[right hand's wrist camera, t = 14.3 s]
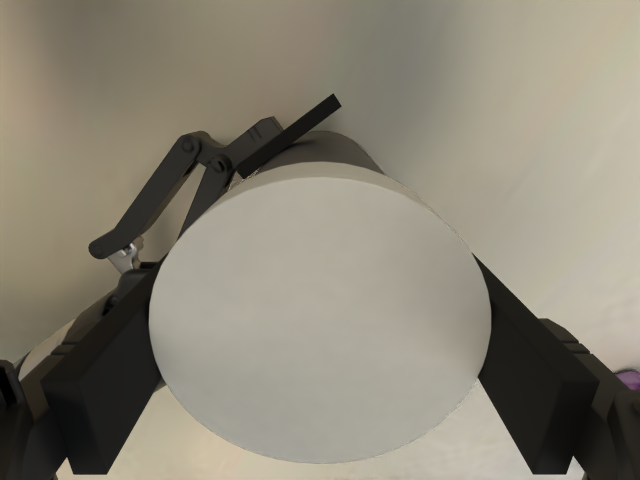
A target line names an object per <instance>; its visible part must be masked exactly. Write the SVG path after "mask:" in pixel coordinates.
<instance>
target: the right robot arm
mask: <svg viewBox="0 0 640 480" xmlns="http://www.w3.org/2000/svg"><path fill="white" fill-rule="evenodd" d="M168 253H169V252H168ZM168 253H167V254H166V255H165V256H164V257H163V258H162V259H161V260H160V261H159V262H158V263H157V264H156V265H155V266H154V267H153V268H152V269H151V270H150V271H149V272H148V273H147V274H146V275H145V276H144V277H143V278H142V279H141V280H140V281H139V282H138V283H137V284H136V285H135V286H134V287H133V288H132V289H131V290H130V291H129V292H128V293H127V294H126V295H125V296H124V297H123V298H122V299H121V300H120V301H119V302H118V303H117V304H116V305H115V306H114V307H113V308H112V309H111V310H110V311H109V312H108V313H107V314H106V315H105V316H104V317H103V318H102V319H101V320H91V321H90V322H88V323H86V324H84V325H83V326H81V327H79V328H77V329H76V330H74V331H73V332H72V333H71V334H70V335H69V336H68V337H67V338H66V339H65V340H63V341H62V342H61V345H58V346H57V347H56V348H55V349H54V350H53V351H52V352H51V354H50V355H47V356H46V357H45V358H44V359H43V360H42V361H41V362H40V363H39V364H38V365H37V366H36V367H35V368H33V369H32V370H31V371H30V372H29V373H28V374H27V375H26V376H25V377H24V378H23V379H22V380H21V381H19V378H18V376H17V373H16V371H15V368H14V366H13V364H12V363H10V362H9V361H7V360H0V480H58V478H57V475H56V472H57V470H58V469H59V467H60V466H61V464H62V463H63V462H64V460H65V459H66V457H67V458H68V460H69V463H70V466H71V469H72V471H73V474H74V475H107V473H108V471H109V470H110V468H111V466H112V464H113V463H114V461H115V459H116V457H117V456H118V454H119V452H120V450H121V449H122V447H123V445H124V443H125V442H126V440H127V438H128V436H129V435H130V433H131V431H132V429H133V427H134V426H135V424H136V422H137V420H138V419H139V417H140V415H141V413H142V412H143V410H144V408H145V406H146V405H147V403H148V401H149V399H150V398H151V396H152V394H153V392H154V391H155V389H156V387H157V385H158V384H159V382H160V380H161V378H162V375H161V373H160V370H159V368H158V366H157V363H156V361H155V357H154V354H153V349H152V345H151V340H150V333H149V305H150V300H151V295H152V290H153V286H154V283H155V280H156V278H157V275H158V273H159V270H160V267H161V265H162V263H163V262H164V260H165V258H166V257H167V255H168ZM471 253H472V252H471ZM472 255H473V256H474V258H475V260H476V262H477V264H478V266H479V268H480V270H481V272H482V275H483V278H484V281H485V284H486V286H487V289H488V294H489V300H490V306H491V334H490V339H489V345H488V349H487V354H486V357H485V360H484V364H483V366H482V369H481V371H480V373H479V375H478V379H479V381H480V382H481V384H482V386H483V388H484V389H485V391H486V393H487V395H488V396H489V398H490V400H491V402H492V403H493V405H494V407H495V409H496V410H497V412H498V414H499V416H500V417H501V419H502V421H503V423H504V424H505V426H506V428H507V430H508V431H509V433H510V435H511V437H512V438H513V440H514V442H515V444H516V445H517V447H518V449H519V451H520V452H521V454H522V456H523V458H524V459H525V461H526V463H527V465H528V466H529V468H530V470H531V472H532V473H533V474H566V473H567V471H568V468H569V465H570V462H571V460H572V457H573V456H574V457H575V459H576V460H577V461H578V463H579V464H580V466H581V467H582V468H583V470H584V471H585V473H584V475H583V478H582V480H640V391H637V390H631V389H630V388H629V387H628V386H627V385H626V384H624V383H623V382H622V381H621V380H620V379H619V378H618V377H617V376H616V375H615V374H614V373H613V372H612V371H610V370H609V369H608V368H607V367H606V366H605V365H604V364H603V363H602V362H601V361H600V360H599V359H598V358H596V357H595V356H594V355H593V354H590V351H589V350H588V349H587V348H586V347H585V346H583V345H582V344H579V341H578V340H577V339H576V338H575V337H574V336H573V335H572V334H571V333H569V332H568V331H567V330H566V329H565V328H563V327H561V326H560V325H558V324H556V323H554V322H553V321H551V320H549V319H538V318H537V317H536V316H535V315H534V314H533V313H532V312H531V311H530V310H529V309H528V308H527V307H526V306H525V305H524V304H523V303H522V302H521V301H520V300H519V299H518V298H517V297H516V296H515V295H514V294H513V293H512V292H511V291H510V290H509V289H508V288H507V287H506V286H505V285H504V284H503V283H502V282H501V281H500V280H499V279H498V278H497V277H496V276H495V275H494V274H493V273H492V272H491V271H490V270H489V269H488V268H487V267H486V266H485V265H484V264H483V263H482V262H481V261H480V260H479V259H478V258H477V257H476V256H475V255H474V254H473V253H472Z"/></svg>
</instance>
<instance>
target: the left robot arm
mask: <svg viewBox="0 0 640 480" xmlns="http://www.w3.org/2000/svg"><path fill="white" fill-rule="evenodd" d="M340 107H341V104H340V103H339V101H338V100H337V98H336V97H335V95H334V93H333V94H331V95H330V96H329V97H328V98H326V99H325V100H324V101H322V102H321V103H320V104H318V105H317V106H316V107H314V108H313V109H312V110H310V111H309V112H308V113H306V114H305V115H304V116H302V117H301V118H300V119H299V120H297V121H296V122H295V123H293V124H292V125H291V126H289V127H288V128H287V129H285V130H283V128H282V127H281V125H280V124H279V123H278V121H277V120H276V118H275V117H274V116H273V117H269V118H265V119H262V120H260V121H259V122H258V123H256V124H255V125H254V126H253V127H251V128H250V129H249V130H247V131H246V132H245V133H243V134H242V135H241V136H240V137H238V138H237V139H236V140H235V141H233V142H232V143H231V144H229V145H222V144H220V143H218V142H216V141H215V140H213V139H212V138H211V137H210V136H209V134H208V133H206V132H204V131H198V132H193V133H189V134H186V135H182V136H181V137H180V138H179V139H178V140H177V141H176V143H175V144H174V146H173V147H172V148H171V150H170V151H169V153H168V154H167V155H166V157H165V158H164V160H163V161H162V162H161V164H160V165H159V167H158V168H157V169H156V171H155V172H154V174H153V175H152V176H151V178H150V179H149V181H148V182H147V183H146V185H145V186H144V188H143V189H142V190H141V192H140V193H139V195H138V196H137V197H136V199H135V200H134V202H133V203H132V204H131V206H130V207H129V209H128V210H127V212H126V213H125V214H124V216H123V217H122V219H121V220H120V221H119V223H118V224H117V226H116V227H115V228H114V229H112V230H111V231H109V232H107V233H106V234H104V235H102V236H101V237H99V238H98V239H96V240H94V241H93V242H91V243H90V244H89V247H88V248H89V252H90V254H91V255H92V256H93V257H95V258H97V259H105V258H107V257H108V259H109V260H110V261H111V262H112V263H113V265H114V266H115V267H116V268H117V269H118V271H119V272H120V273H121V274H122V276H121V278H120V280H119V283H118V286H117V287H116V288H115V289H114V290H112V291H111V292H109V293H108V294H107V295H105V296H104V297H103V298H101V299H100V300H99V301H97V302H96V303H95V304H93V305H92V306H90V307H89V308H88V309H86V310H85V311H84V312H82V313H81V314H80V315H79V316H78V317H76V318H74V319H73V320H71V321H70V322H69V323H67V324H66V325H65V326H63V327H62V328H60V329H59V330H58V331H56V332H55V333H54V334H52V335H51V336H50V337H48V338H47V339H46V340H44V341H43V342H41V343H40V344H39V345H37V346H36V347H35V348H34V349H33V350H32V351H30V352H29V353H28V354H27V355H26V356H24V357H23V358H21V359H20V360H18V361H17V362H16V363H14V364H13V366H14V368H15V371H16V373H17V376H18V378H19V381H21V380H22V379H23V378H24V377H25V376H26V375H27V374H28V373H29V372H30V371H31V370H32V369H33V368H35V367H36V366H37V365H38V364H39V363H40V362H41V361H42V360H43V359H44V358H45V357H46V356H47V355H50V354H51V352H52V351H53V350H54V349H55V348H56V347H57V346H58V345H61V342H62V341H63V340H65V339H66V338H67V337H68V336H69V335H70V334H71V333H72V332H73V331H74V330H76V329H77V328H79V327H81V326H83V325H84V324H86V323H88V322H90V321H91V320H101V319H102V318H103V317H104V316H105V315H106V314H107V313H108V312H109V311H110V310H111V309H112V308H113V307H114V306H115V305H116V304H117V303H118V302H119V301H120V300H121V299H122V298H123V297H124V296H125V295H126V294H127V293H128V292H129V291H130V290H131V289H132V288H133V287H134V286H135V285H136V284H137V283H138V282H139V281H140V280H141V279H142V278H143V277H144V276H145V275H146V274H147V273H148V272H149V271H150V270H151V269H152V268H153V267H154V266H155V265H156V264H157V263H158V262H140V260H139V258H138V254H139V252H140V251H141V250H142V248H143V241H144V239H143V237H142V236H140V235H142V234H143V233H144V232H146V231H147V230H148V229H149V228H150V227H151V226H152V225H153V224H154V222H155V221H156V220H157V218H158V217H159V216H160V214H161V213H162V212H163V210H164V209H165V208H166V206H167V205H168V204H169V202H170V201H171V200H172V198H173V197H174V196H175V194H176V193H177V192H178V190H179V189H180V188H181V186H182V185H183V184H184V182H185V181H186V180H187V178H188V177H189V176H190V174H191V173H192V172H193V170H194V169H195V168H196V166H197V165H198V164H199V163H201V164H202V165H204V166H205V167H207V168H206V170H205V173H204V175H203V177H202V180H201V182H200V185H199V187H198V190H197V192H196V195H195V197H194V200H193V202H192V204H191V207H190V209H189V212H188V214H187V217H186V219H185V222H184V224H183V227H182V229H181V232H180V234H179V236H178V239H179V238H180V237H181V236H182V235H183V233H184V232H185V231H186V230H187V229H188V228H189V227H190V226H191V225H192V224H193V223H194V222H195V221H196V220H197V219H198V218H199V217H200V216H201V215H202V214H203V213H204V212H206V211H207V210H208V209H209V208H210V207H211V206H212V205H213V204H214V203H215V202H216V201H217V200H218V199H220V198H221V197H222V196H223V195H224V194H225V193H226V192H227V190H228V188H229V186H230V183H231V181H232V179H233V177H234V174H235V172H236V170H237V172H238V173H239V174H240V175H241V177H242V178H243V179H245V178H246V177H248V176H249V175H250V174H252V173H253V172H254V171H256V170H257V169H258V168H260V167H261V166H262V165H264V164H265V163H266V162H268V161H269V160H270V159H272V158H273V157H274V156H276V155H277V154H278V153H280V152H281V151H282V150H284V149H285V148H286V147H288V146H289V145H290V144H292V143H293V142H294V141H296V140H297V139H299V138H300V137H301V136H303V135H304V134H305V133H307V132H308V131H309V130H311V129H312V128H313V127H315V126H316V125H317V124H319V123H320V122H321V121H323V120H324V119H325V118H327V117H328V116H329V115H331V114H332V113H333V112H335V111H336V110H337V109H339V108H340ZM178 239H177V241H178ZM177 241H176V242H177ZM165 385H167V384H166V382H165V381H164V379H163V377H162V378H161V380H160V382H159V384H158V385H157V387H156V389H155V391H154V392H156V391H157V390H159V389H160V388H162V387H164V386H165ZM154 392H153V393H154Z"/></svg>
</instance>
